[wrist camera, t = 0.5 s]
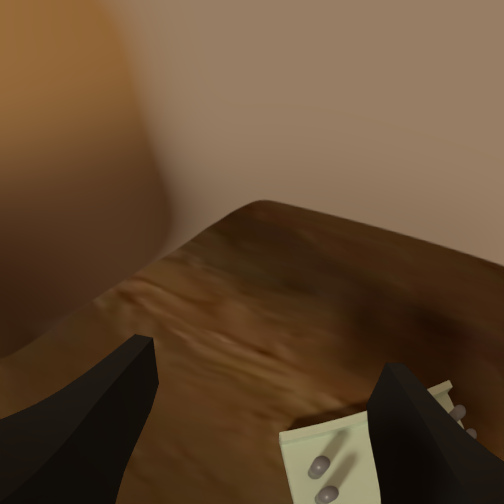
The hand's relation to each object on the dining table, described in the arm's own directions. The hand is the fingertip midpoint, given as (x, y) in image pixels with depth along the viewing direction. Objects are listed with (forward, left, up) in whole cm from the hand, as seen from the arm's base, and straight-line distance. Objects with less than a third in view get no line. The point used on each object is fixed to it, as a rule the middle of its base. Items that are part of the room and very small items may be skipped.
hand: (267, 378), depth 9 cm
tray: (-2, -9, -18) cm, 20 cm away
